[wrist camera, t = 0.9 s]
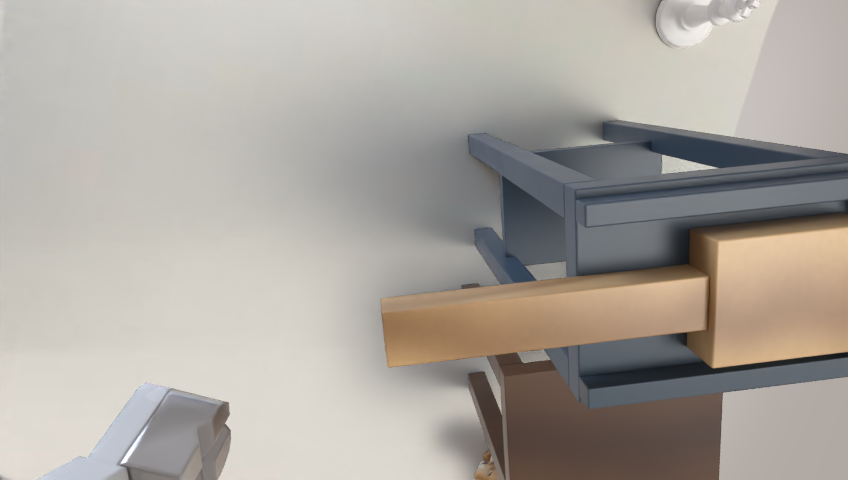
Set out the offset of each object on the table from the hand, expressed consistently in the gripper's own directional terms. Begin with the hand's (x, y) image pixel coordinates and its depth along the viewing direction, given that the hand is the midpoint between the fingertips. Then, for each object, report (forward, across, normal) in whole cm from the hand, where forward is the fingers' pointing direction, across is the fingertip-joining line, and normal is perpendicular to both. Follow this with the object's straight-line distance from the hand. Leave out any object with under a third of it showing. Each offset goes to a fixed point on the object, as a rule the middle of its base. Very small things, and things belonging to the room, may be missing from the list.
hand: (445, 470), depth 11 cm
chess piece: (+50, -14, +2) cm, 52 cm away
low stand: (+38, -9, +29) cm, 48 cm away
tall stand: (+42, -6, +16) cm, 45 cm away
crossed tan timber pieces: (+15, -7, +7) cm, 18 cm away
